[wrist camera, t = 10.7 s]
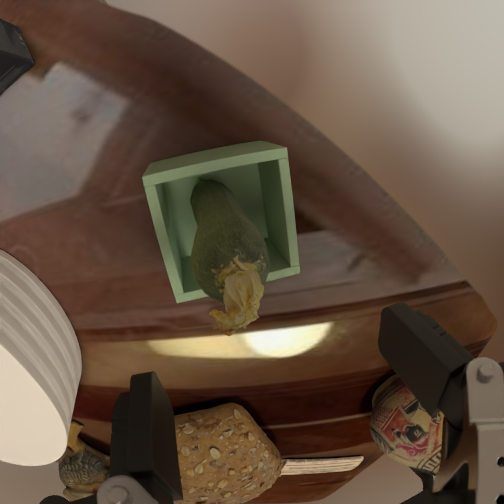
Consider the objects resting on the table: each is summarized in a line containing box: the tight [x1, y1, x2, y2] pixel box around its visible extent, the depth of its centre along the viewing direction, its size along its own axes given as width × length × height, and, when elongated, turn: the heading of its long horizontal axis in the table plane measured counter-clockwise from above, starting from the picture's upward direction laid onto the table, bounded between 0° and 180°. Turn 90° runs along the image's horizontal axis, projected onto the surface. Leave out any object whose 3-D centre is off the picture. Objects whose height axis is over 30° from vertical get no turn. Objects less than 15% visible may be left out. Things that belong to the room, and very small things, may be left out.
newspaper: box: [281, 456, 364, 475], centre depth 58 cm, size 24×7×2 cm, turn 62°
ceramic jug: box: [370, 374, 444, 493], centre depth 38 cm, size 17×15×30 cm
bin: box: [142, 140, 300, 303], centre depth 27 cm, size 11×11×8 cm
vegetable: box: [190, 177, 271, 336], centre depth 21 cm, size 4×4×20 cm
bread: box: [174, 403, 283, 504], centre depth 40 cm, size 24×21×12 cm
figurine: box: [58, 420, 110, 502], centre depth 35 cm, size 14×15×15 cm
